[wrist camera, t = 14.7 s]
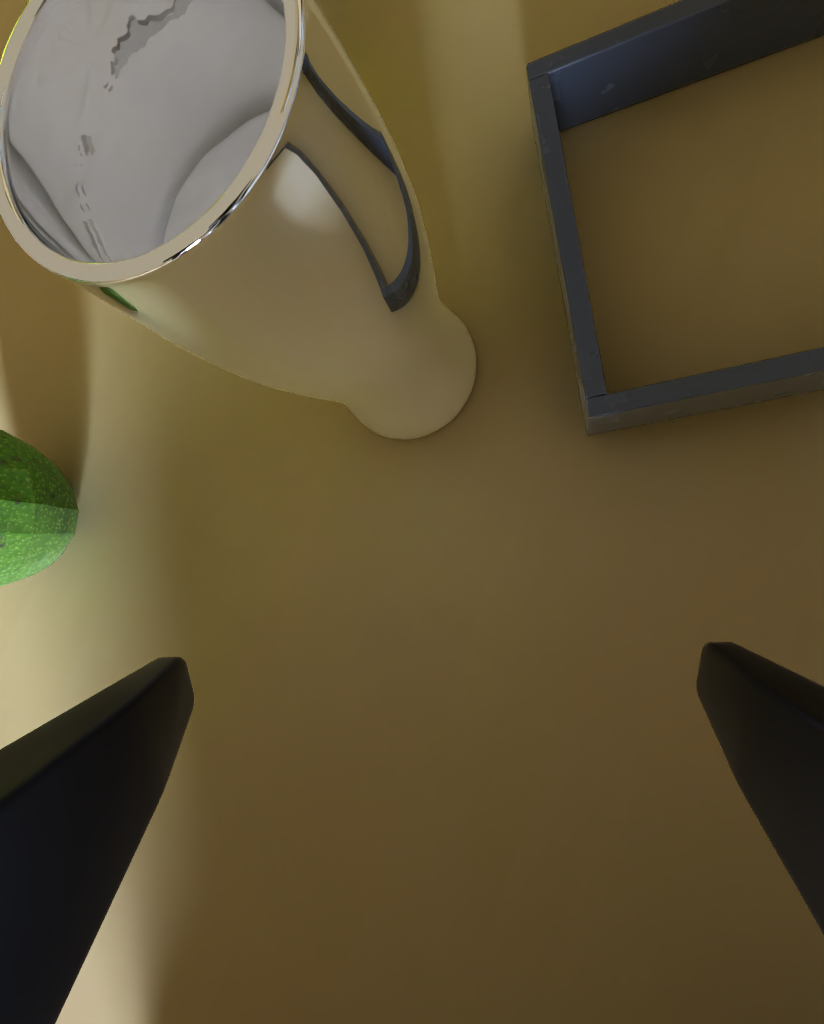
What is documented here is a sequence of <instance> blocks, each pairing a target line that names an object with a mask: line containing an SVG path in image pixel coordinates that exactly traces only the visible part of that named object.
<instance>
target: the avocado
mask: <svg viewBox="0 0 824 1024" xmlns="http://www.w3.org/2000/svg"><path fill="white" fill-rule="evenodd" d="M77 517H78V507H77V504H76V500H75V496H74V493H73V489H72V487H71V486H70V484H69V483H68V481H67V480H66V479H65V477H64V476H63V474H62V472H61V471H60V470H59V468H58V467H57V466H56V465H55V464H54V463H53V462H52V461H51V460H49V459H48V458H47V457H45V456H44V455H43V454H41V453H40V452H39V451H38V450H36V449H35V448H34V447H32V446H31V445H29V444H27V443H25V442H23V441H21V440H20V439H18V438H16V437H14V436H12V435H10V434H9V433H7V432H5V431H3V430H0V586H2V585H5V584H9V583H12V582H15V581H18V580H21V579H23V578H26V577H29V576H31V575H34V574H36V573H37V572H39V571H41V570H43V569H44V568H46V567H48V566H49V565H51V564H52V563H53V562H54V561H56V560H57V559H58V558H59V557H60V556H61V555H62V554H63V552H64V550H65V549H66V547H67V545H68V543H69V542H70V540H71V538H72V537H73V535H74V534H75V528H76V523H77Z"/></svg>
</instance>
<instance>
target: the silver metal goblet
mask: <svg viewBox="0 0 824 1024" xmlns="http://www.w3.org/2000/svg"><path fill="white" fill-rule="evenodd" d="M0 215H1V217H2V219H3V221H4V223H5V225H6V227H7V228H8V230H9V232H10V233H11V235H12V236H13V238H14V239H15V241H16V242H17V243H18V245H19V246H20V247H21V248H22V249H23V250H24V251H25V253H26V254H27V255H29V256H30V257H31V258H32V259H33V260H34V261H36V262H37V263H38V264H39V265H41V266H42V267H44V268H45V269H47V270H49V271H51V272H53V273H55V274H57V275H59V276H61V277H64V278H66V279H68V280H70V281H72V282H73V283H75V284H77V285H78V286H80V287H82V288H83V289H85V290H87V291H88V292H90V293H91V294H93V295H95V296H96V297H98V298H99V299H101V300H103V301H104V302H106V303H107V304H109V305H111V306H112V307H114V308H115V309H117V310H118V311H120V312H122V313H123V314H125V315H126V316H128V317H130V318H131V319H133V320H135V321H136V322H138V323H140V324H141V325H143V326H145V327H146V328H148V329H149V330H151V331H153V332H154V333H156V334H158V335H159V336H161V337H163V338H164V339H166V340H168V341H169V342H171V343H173V344H175V345H177V346H179V347H181V348H182V349H184V350H186V351H188V352H190V353H192V354H194V355H196V356H197V357H199V358H201V359H203V360H205V361H207V362H209V363H211V364H213V365H215V366H217V367H220V368H222V369H224V370H227V371H229V372H231V373H233V374H236V375H238V376H240V377H243V378H245V379H247V380H249V381H252V382H255V383H258V384H262V385H265V386H268V387H272V388H275V389H279V390H282V391H286V392H289V393H294V394H299V395H304V396H309V397H314V398H319V399H324V400H330V401H336V402H340V403H345V404H346V405H347V407H348V408H349V409H350V410H351V412H352V413H353V414H354V415H355V416H356V418H357V419H358V420H359V421H360V422H361V423H362V424H364V425H365V426H366V427H368V428H369V429H370V430H372V431H374V432H376V433H378V434H380V435H383V436H386V437H389V438H394V439H414V438H420V437H423V436H426V435H429V434H431V433H433V432H435V431H437V430H439V429H441V428H442V427H444V426H445V425H446V424H448V423H449V422H450V421H451V420H452V419H453V418H454V417H455V416H456V415H457V414H458V413H459V412H460V410H461V409H462V408H463V406H464V405H465V403H466V401H467V399H468V397H469V395H470V393H471V391H472V388H473V384H474V381H475V375H476V353H475V348H474V344H473V341H472V338H471V336H470V334H469V332H468V330H467V329H466V327H465V326H464V324H463V323H462V321H461V320H460V319H459V318H458V317H457V316H456V315H455V314H454V313H453V312H452V311H451V310H449V309H448V308H447V307H446V306H444V305H443V304H442V303H441V302H440V300H439V296H438V291H437V285H436V279H435V273H434V268H433V263H432V258H431V252H430V247H429V242H428V238H427V234H426V230H425V226H424V223H423V219H422V215H421V212H420V208H419V204H418V201H417V197H416V194H415V191H414V189H413V186H412V184H411V181H410V179H409V176H408V174H407V172H406V169H405V167H404V164H403V162H402V159H401V157H400V154H399V152H398V150H397V147H396V145H395V143H394V141H393V139H392V137H391V135H390V133H389V131H388V129H387V127H386V125H385V123H384V121H383V119H382V117H381V115H380V113H379V111H378V109H377V107H376V105H375V103H374V101H373V99H372V97H371V95H370V93H369V91H368V89H367V88H366V86H365V84H364V82H363V80H362V79H361V77H360V75H359V73H358V72H357V70H356V68H355V66H354V65H353V63H352V61H351V59H350V58H349V56H348V54H347V52H346V50H345V49H344V47H343V45H342V43H341V42H340V40H339V38H338V37H337V35H336V33H335V32H334V30H333V28H332V27H331V25H330V23H329V22H328V20H327V18H326V16H325V15H324V13H323V11H322V10H321V8H320V6H319V5H318V3H317V1H316V0H28V2H27V3H26V5H25V7H24V9H23V10H22V12H21V14H20V16H19V18H18V20H17V22H16V24H15V26H14V28H13V31H12V33H11V35H10V38H9V40H8V42H7V45H6V47H5V50H4V53H3V56H2V58H1V62H0Z"/></svg>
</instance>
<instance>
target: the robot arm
mask: <svg viewBox="0 0 824 1024" xmlns="http://www.w3.org/2000/svg"><path fill="white" fill-rule="evenodd" d="M697 692H698V696H699V699H700V701H701V703H702V705H703V708H704V710H705V712H706V714H707V717H708V719H709V721H710V723H711V726H712V728H713V730H714V732H715V735H716V737H717V739H718V741H719V744H720V746H721V748H722V750H723V753H724V755H725V757H726V759H727V762H728V764H729V766H730V768H731V770H732V772H733V775H734V777H735V779H736V781H737V783H738V785H739V787H740V788H741V790H742V792H743V794H744V796H745V798H746V799H747V801H748V803H749V805H750V806H751V808H752V810H753V812H754V813H755V815H756V817H757V819H758V820H759V822H760V824H761V826H762V827H763V829H764V831H765V833H766V834H767V836H768V838H769V840H770V841H771V843H772V845H773V847H774V848H775V850H776V852H777V854H778V855H779V857H780V859H781V861H782V862H783V864H784V866H785V868H786V869H787V871H788V873H789V875H790V876H791V878H792V880H793V882H794V883H795V885H796V887H797V889H798V890H799V892H800V894H801V896H802V897H803V899H804V901H805V903H806V904H807V906H808V908H809V910H810V911H811V913H812V915H813V917H814V918H815V920H816V922H817V924H818V925H819V927H820V929H821V931H822V932H823V934H824V686H822V685H819V684H817V683H815V682H813V681H811V680H809V679H807V678H805V677H803V676H801V675H799V674H797V673H795V672H793V671H791V670H789V669H786V668H784V667H782V666H780V665H778V664H776V663H774V662H772V661H770V660H768V659H766V658H764V657H762V656H760V655H758V654H756V653H754V652H751V651H749V650H747V649H745V648H743V647H741V646H739V645H737V644H735V643H732V642H710V643H707V644H706V645H704V647H703V650H702V654H701V659H700V665H699V671H698V676H697ZM193 706H194V692H193V688H192V684H191V680H190V676H189V672H188V668H187V665H186V662H185V661H184V659H182V658H181V657H162V658H158V659H156V660H154V661H152V662H150V663H149V664H147V665H145V666H144V667H142V668H140V669H138V670H137V671H135V672H133V673H132V674H130V675H128V676H126V677H125V678H123V679H121V680H119V681H118V682H116V683H114V684H113V685H111V686H109V687H107V688H106V689H104V690H102V691H100V692H99V693H97V694H95V695H94V696H92V697H90V698H88V699H87V700H85V701H83V702H82V703H80V704H78V705H76V706H75V707H73V708H71V709H69V710H68V711H66V712H64V713H63V714H61V715H59V716H57V717H56V718H54V719H52V720H51V721H49V722H47V723H45V724H44V725H42V726H40V727H38V728H37V729H35V730H33V731H32V732H30V733H28V734H26V735H25V736H23V737H21V738H20V739H18V740H16V741H14V742H13V743H11V744H9V745H7V746H6V747H4V748H2V749H1V750H0V1024H55V1023H56V1021H57V1018H58V1016H59V1014H60V1012H61V1010H62V1008H63V1006H64V1004H65V1001H66V999H67V997H68V995H69V993H70V991H71V989H72V986H73V984H74V982H75V980H76V978H77V976H78V974H79V971H80V969H81V967H82V965H83V963H84V961H85V959H86V957H87V954H88V952H89V950H90V948H91V946H92V944H93V942H94V939H95V937H96V935H97V933H98V931H99V929H100V927H101V924H102V922H103V920H104V918H105V916H106V914H107V912H108V910H109V907H110V905H111V903H112V901H113V899H114V897H115V895H116V892H117V890H118V888H119V886H120V884H121V882H122V880H123V877H124V875H125V873H126V871H127V869H128V867H129V865H130V863H131V860H132V858H133V856H134V854H135V852H136V850H137V848H138V845H139V843H140V841H141V839H142V837H143V835H144V833H145V831H146V828H147V826H148V824H149V822H150V820H151V818H152V816H153V813H154V811H155V809H156V807H157V805H158V803H159V800H160V798H161V796H162V794H163V791H164V789H165V786H166V783H167V781H168V778H169V776H170V773H171V770H172V767H173V764H174V761H175V758H176V756H177V753H178V750H179V747H180V744H181V741H182V739H183V736H184V733H185V730H186V727H187V724H188V721H189V719H190V716H191V713H192V710H193Z"/></svg>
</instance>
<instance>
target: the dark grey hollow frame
mask: <svg viewBox="0 0 824 1024" xmlns="http://www.w3.org/2000/svg"><path fill="white" fill-rule="evenodd" d="M821 35H824V0H681V1H679V2H676V3H674V4H671V5H669V6H666V7H664V8H662V9H659V10H657V11H654V12H652V13H649V14H647V15H645V16H642V17H640V18H637V19H635V20H632V21H630V22H628V23H625V24H623V25H620V26H618V27H615V28H613V29H611V30H608V31H606V32H603V33H601V34H599V35H596V36H594V37H591V38H589V39H586V40H584V41H582V42H579V43H577V44H574V45H572V46H569V47H567V48H565V49H562V50H560V51H557V52H555V53H552V54H550V55H548V56H545V57H543V58H540V59H538V60H535V61H533V62H531V63H528V64H527V67H526V69H527V79H528V88H529V98H530V107H531V117H532V127H533V132H534V138H535V144H536V150H537V155H538V161H539V166H540V172H541V178H542V183H543V189H544V195H545V200H546V206H547V211H548V217H549V223H550V228H551V234H552V240H553V245H554V251H555V257H556V262H557V268H558V273H559V279H560V285H561V290H562V296H563V302H564V307H565V313H566V319H567V324H568V330H569V335H570V341H571V347H572V352H573V358H574V364H575V369H576V375H577V381H578V386H579V392H580V397H581V403H582V409H583V414H584V418H585V419H584V420H585V426H586V431H587V435H592V434H597V433H603V432H608V431H613V430H618V429H623V428H628V427H633V426H638V425H643V424H648V423H653V422H658V421H664V420H669V419H674V418H679V417H684V416H689V415H694V414H699V413H704V412H709V411H714V410H719V409H725V408H730V407H735V406H740V405H745V404H750V403H755V402H760V401H765V400H770V399H775V398H781V397H786V396H791V395H796V394H801V393H806V392H811V391H816V390H821V389H824V347H822V348H818V349H813V350H809V351H804V352H799V353H795V354H790V355H786V356H781V357H776V358H772V359H767V360H763V361H758V362H753V363H749V364H744V365H739V366H735V367H730V368H726V369H721V370H716V371H712V372H707V373H703V374H698V375H693V376H689V377H684V378H680V379H675V380H670V381H666V382H661V383H656V384H652V385H647V386H643V387H638V388H633V389H629V390H624V391H620V392H615V393H610V394H607V390H606V385H605V380H604V374H603V369H602V363H601V358H600V352H599V347H598V341H597V336H596V330H595V325H594V319H593V314H592V309H591V303H590V298H589V292H588V287H587V281H586V276H585V270H584V265H583V259H582V254H581V248H580V243H579V238H578V232H577V227H576V221H575V216H574V210H573V205H572V199H571V194H570V188H569V183H568V177H567V172H566V167H565V161H564V156H563V150H562V145H561V139H560V134H559V132H560V131H563V130H565V129H568V128H571V127H573V126H576V125H579V124H582V123H584V122H587V121H590V120H592V119H595V118H598V117H601V116H603V115H606V114H609V113H612V112H614V111H617V110H620V109H622V108H625V107H628V106H631V105H633V104H636V103H639V102H641V101H644V100H647V99H650V98H652V97H655V96H658V95H661V94H663V93H666V92H669V91H671V90H674V89H677V88H680V87H682V86H685V85H688V84H690V83H693V82H696V81H699V80H701V79H704V78H707V77H709V76H712V75H715V74H718V73H720V72H723V71H726V70H729V69H731V68H734V67H737V66H739V65H742V64H745V63H748V62H750V61H753V60H756V59H758V58H761V57H764V56H767V55H769V54H772V53H775V52H777V51H780V50H783V49H786V48H788V47H791V46H794V45H797V44H799V43H802V42H805V41H807V40H810V39H813V38H816V37H818V36H821Z"/></svg>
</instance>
